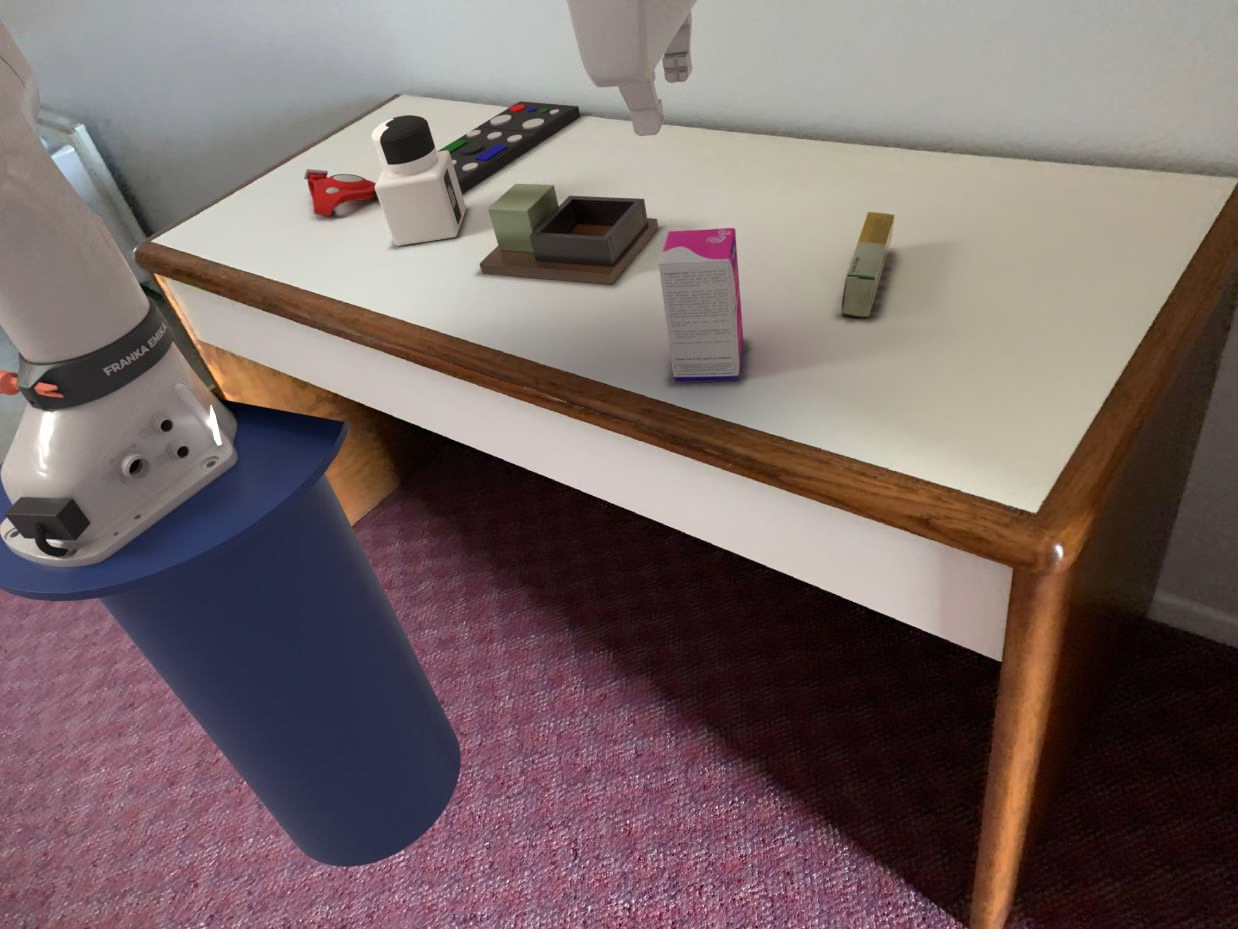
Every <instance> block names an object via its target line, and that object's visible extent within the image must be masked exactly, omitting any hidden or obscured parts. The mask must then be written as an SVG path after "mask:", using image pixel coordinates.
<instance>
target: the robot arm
mask: <svg viewBox="0 0 1238 929" xmlns="http://www.w3.org/2000/svg"><path fill="white" fill-rule="evenodd" d="M697 1H698V0H566V2H567V7H568V11H569V15H570V19H571V24H572V28H573V32H574V36H575V39H576V44H577V48H578V52H579V55H580V59H581V62H582V65H583V69H584V70H585V72H586V74H587V76H588V77H589V79H590V81H591V82H592V84H593V86H595V87H597V88H613V87H615V88H616V87H618V91H619V93H620V94H621V96H622V99H623V100H624V102H625V104H626V107H627V108H628V110H629V112H630V117H631V123H632V129H633V132H634V134H636V135H637V136H639V137H645V136H646V137H647V136H655V135H658V134H659V132H660V131H661V129H662V126H663V124H664V123H665V115H664V108H663V101H662V99H661V98H660V99H659V98H658V94H657V90H656V86H655V81H656V71H655V69H656V67H657V65H658V64H659V63H660V61H661V60H662V67H663V74H664V75H663V76H664V79H665V81H666V82H667V83H670V84H674V83H683V82H686V81H687V80H688V79H689V77H690V75H691V74H692V72H693V64H692V63H693V62H692V55H691V43H692V26H693V25H692V24H693V17H692V10H693V8H694V6H695V5H696V3H697ZM40 107H41V95H40V88H39V84H38V81H37V78H36V76H35V73H34V70H33V69H32V67H31V65H30V63H29V61H28V59H27V57H26V56H25V55H24V54H23V52H22V50H21V49H20V48H19V46H18V44H17V43H16V41H15V40H14V38H13V37H12V35H11V33H10V32H9V30H8V28H7V27H6V25H5V24H4V22H3V21H2V19H1V18H0V326H1V328H2V330H3V331H4V332H5V333H6V335H7V336H8V338H9V339H10V341H11V342H12V344H13V345H14V347H16V349H17V350H18V363H19V368H18V372H13V371H8V370H4V369H0V394H4V395H6V396H15V395H17V394H19V393H21V395H22V396H23V397H24V398H25V400H26V402H27V404H26V406H25V409H24V412H23V414H22V417H21V420H20V422H19V425H18V427H17V430H16V432H15V435H14V436H13V440H12V442H11V443H10V447H9V450H8V451H7V454H6V456H5V459H4V460H3V462H4V463H3V462H2V463H3V465H2V467H1V480H2V484H3V487H4V489H5V492H6V494H7V496H8V498H9V500H10V502H11V504H12V506H11V507H10V508H9V509H8V510H7V512H6V513H5V514H4V515H5V516H6V517H7V518H6V519H5V520H4V521H3V522H2V524H1V525H0V534H1V537H2V539H3V540H4V542H5V543H6V545H7V546H8V548H9V549H10V550H11V551H13V552H14V553H15V554H17V555H18V556H20V557H22V558H24V559H27V560H30V561H32V562H35V563H39V564H43V565H47V566H53V567H81V566H87V565H92V564H96V563H100V562H102V561H104V560H105V559H107V558H108V557H110V556H111V555H113V554H114V553H115V552H117V551H118V550H119V549H121V548H122V547H124V546H125V545H126V544H128V543H129V542H130V541H132V540H133V539H134V538H136V537H137V536H139V535H140V534H141V533H143V532H144V531H145V530H147V529H148V528H149V527H151V526H152V525H154V524H155V523H156V522H158V521H159V520H160V519H162V518H163V517H164V516H166V515H167V514H168V513H170V512H171V511H173V510H174V509H175V508H177V507H178V506H179V505H181V504H182V503H183V502H185V501H186V500H188V499H189V498H190V497H192V496H193V495H194V494H196V493H197V492H198V491H200V490H201V489H202V488H204V487H205V486H207V485H208V484H209V483H211V482H212V481H213V480H215V479H216V478H217V477H219V476H220V475H222V474H223V473H224V472H226V471H227V470H228V469H230V468H231V467H232V466H233V465H234V464H235V463H236V462H237V460H238V454H237V451H236V449H235V447H234V439H235V435H236V432H237V420H236V417H235V415H234V414H233V413H232V412H231V411H230V410H229V409H228V408H227V407H226V406H225V405H224V404H222V403H221V402H220V401H219V400H218V399H219V398H218V399H217V397H216V395H215V394H214V393H213V392H212V391H211V390H210V389H209V388H208V386H207V385H206V384H205V383H204V381H203V380H202V379H201V378H200V376H199V375H198V374H197V373H196V372H195V370H194V368H192V366H191V365H190V364H189V362H188V361H187V359H186V358H185V356H184V355H183V354H182V352H181V351H180V349H179V348H178V342H177V339H176V336H175V334H174V331H173V330H172V328H171V326H170V325H169V323H168V320H166V317H165V316H164V313H163V312H162V311H161V310H160V308H159V306H158V305H157V303H156V301H155V299H153V298H152V297H150V296H148V295H146V294H145V292H144V290H143V288H142V286H141V285H140V283H139V281H138V279H137V277H136V276H135V274H134V272H133V270H132V269H131V267H130V265H129V263H128V261H126V259H125V257H124V255H123V253H122V251H121V249H120V248H119V246H118V245H117V243H116V241H115V239H114V237H113V236H112V234H111V232H110V230H109V229H108V227H107V225H106V224H105V222H104V221H103V219H102V218H101V217H100V216H99V215H98V214H96V213H95V212H94V211H93V210H92V209H91V207H89V205H88V204H87V203H86V202H85V201H84V199H83V198H82V197H81V195H80V194H79V193H78V192H77V190H76V189H75V188H74V187H73V185H72V184H71V182H70V181H69V180H68V178H67V177H66V176H65V175H64V173H63V171H62V170H61V169H60V167H59V166H58V164H57V163H56V162H55V160H54V159H53V157H52V156H51V155H50V153H49V151H48V150H47V148H46V146H45V144H44V143H43V140H42V138H41V137H40V134H39V130H38V128H37V122H38V117H39V114H40Z"/></svg>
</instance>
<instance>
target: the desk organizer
mask: <svg viewBox="0 0 1238 929" xmlns="http://www.w3.org/2000/svg"><path fill="white" fill-rule="evenodd" d="M487 210H488V213H489V218H490V221H491V225H492V228H493V231H494V235H495V238H496V242H497V246H496V247H495V248H494V249H493V250H491V252H490V253H488V255H487V256H485V258H484V259H482V260H481V261H480V263H479V267H480V271H481V274H485V275H486V274H487V275H497V276H499V275H500V276H508V277H509V276H510V277H522V278H533V279H542V280H543V279H545V280H556V281H566V282H567V281H568V282H579V283H589V284H591V283H592V284H602V285H613V284H614V283H615V282H616V280H617V279H618V278H619V277H620V276H621V275H622V273H623V272H624V271H625V270H626V269H627V267H628V266H629V265H630V264H631V263H632V261H633V260H634V259H635V258H636V257H637V255H638V254H639V253H640V252H641V250H642V249H643V248H644V247H645V246H646V244H647V243H648V242H649V241H650V239H651V238H652V237H654V235H655V233H656V232H657V231H658V230H659V224H658V218H653V217H652V218H651V217H648V213H647V207H646V202H645V198H635V197H611V196H587V195H568V196H567V197H566V198H565V199H564V200H563V201H562V202H561V203H560V204H559V202H558V197H557V193H556V188H555V185H554V184H541V183H539V184H537V183H514V184H513V185H512V186H511V187H510V188H508V190H506V191H505V192H504V193H502V195H500V197H499V198H497V199H496V200H495V201H494V202H493V203H492V204H491V205H490V206H489V207H488V208H487Z"/></svg>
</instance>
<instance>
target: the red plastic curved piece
mask: <svg viewBox="0 0 1238 929" xmlns="http://www.w3.org/2000/svg"><path fill="white" fill-rule="evenodd" d="M328 174H329V171H328V170H324V169H313V168H311V169H310V168H305V171H304V176H303V179H304V180H307V185H308V190H309V193H310V196H311V198H312V205H313V213H314V214H316V215H320V216H324V217H325V216H326V217H331V215H332V213H333V211H334V209H335V208H337V207H339V206H340V205H343V204H344V203H347V202H353V201H355V202H356V201H363V200H369V199H374V198H376V197H375V194H374V192H373V190H374V189H375V185H376V183H377V182H374V181H372V180H370V179H367V178H364V177H363V176H360V175H356V174H349V173H339V174H334V175H330V176H328Z"/></svg>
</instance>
